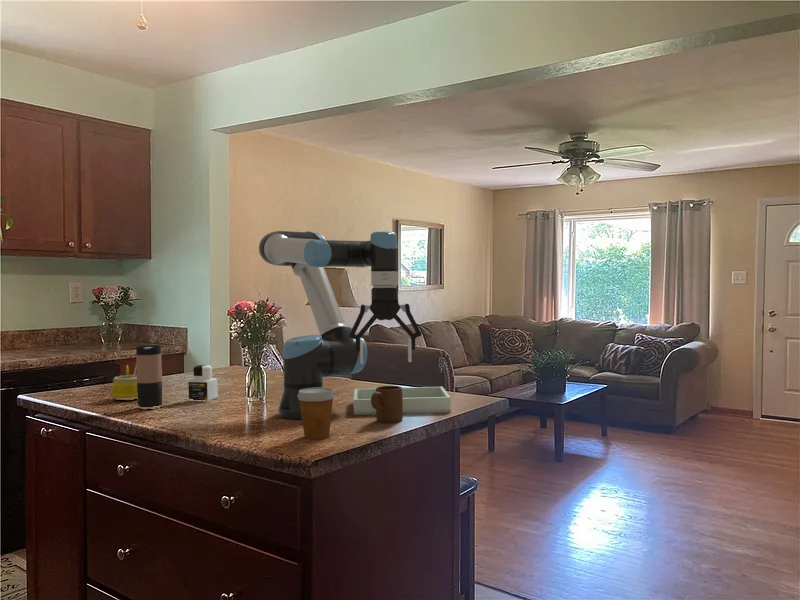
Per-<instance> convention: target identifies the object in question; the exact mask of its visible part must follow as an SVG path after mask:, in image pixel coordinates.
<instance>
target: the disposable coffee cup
mask: <svg viewBox="0 0 800 600" xmlns="http://www.w3.org/2000/svg"><path fill="white" fill-rule="evenodd" d="M335 396H336V395H335V393H334V390H333V388H330V387H323V388H306V389H301V390H299V394H298V395H297V397H298V399H299V401H300V408H301V415H302V419H301V421H302V426H303V435H304V439H308V440H323V439H327V438H329V437H330V431H331V422H332V421H331V420H332V411H333V402H334V397H335Z"/></svg>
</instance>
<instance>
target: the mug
mask: <svg viewBox="0 0 800 600" xmlns="http://www.w3.org/2000/svg"><path fill="white" fill-rule="evenodd" d="M375 388H376V392H375V393H373V394H372V397H371V404H372V407H373V408H374V409H376V414H375V418H376V421H377V422H378V423H383V424H396V423H400V422H401V421H402V420H403V415H404V414H403V397H402V388H403V387H401V386H398V385H383V386H382V385H381V386H378V387H375Z"/></svg>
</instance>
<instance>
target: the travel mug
mask: <svg viewBox="0 0 800 600" xmlns="http://www.w3.org/2000/svg"><path fill="white" fill-rule="evenodd" d="M135 348H136V349H135V351H136V352H135V354H136V355H135V356H136V357H135V358H136V363H135V364H137V367H136V375H137V393H138V399H137V404H138V405H137V406H140V407H153V406H159V405H162V406H163V370H162V368H163V367H162V366H163V365H162V362H163V361H162V346H161V345H157V344H155V345H154V344H151V345H138V346H136V347H135Z"/></svg>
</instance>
